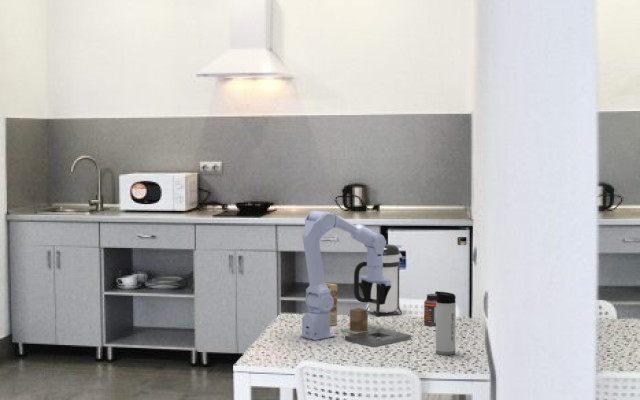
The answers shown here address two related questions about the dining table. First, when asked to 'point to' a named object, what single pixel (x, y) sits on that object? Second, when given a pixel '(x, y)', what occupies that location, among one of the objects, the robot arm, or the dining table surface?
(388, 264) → the coffee press
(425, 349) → the dining table surface
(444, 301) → the travel mug
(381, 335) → the grey plate with hole
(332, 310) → the candy box
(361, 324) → the plug
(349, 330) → the pad
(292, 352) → the dining table surface
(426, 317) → the supplement bottle
